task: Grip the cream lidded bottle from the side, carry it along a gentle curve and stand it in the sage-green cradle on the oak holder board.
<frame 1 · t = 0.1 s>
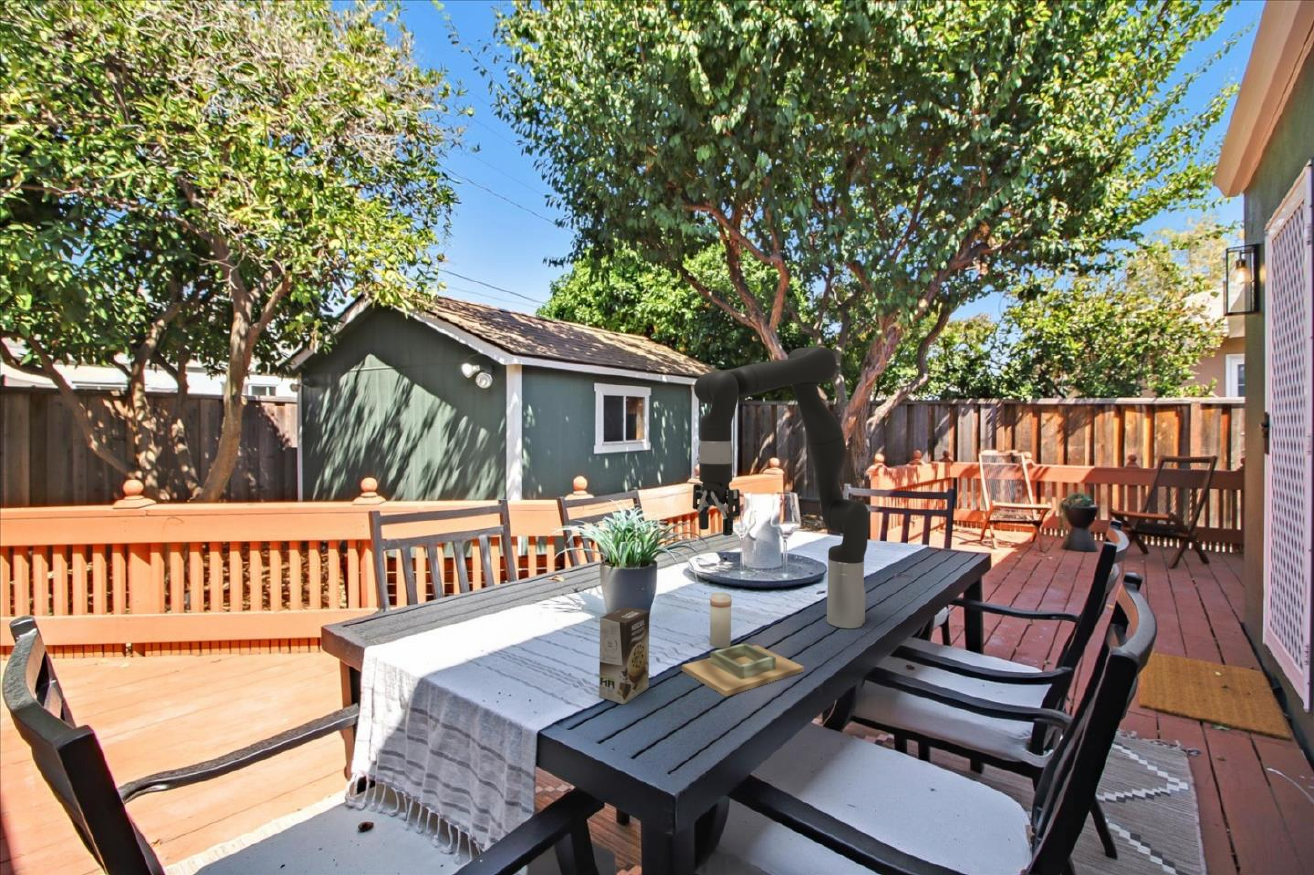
hand: (715, 532, 145), 29 cm above the table, tool pointing down, fingers open, 8 cm apart
coffee box: (624, 693, 128), on the table
end holder: (742, 671, 139), on the table
cream lidded bottle: (720, 644, 155), on the table
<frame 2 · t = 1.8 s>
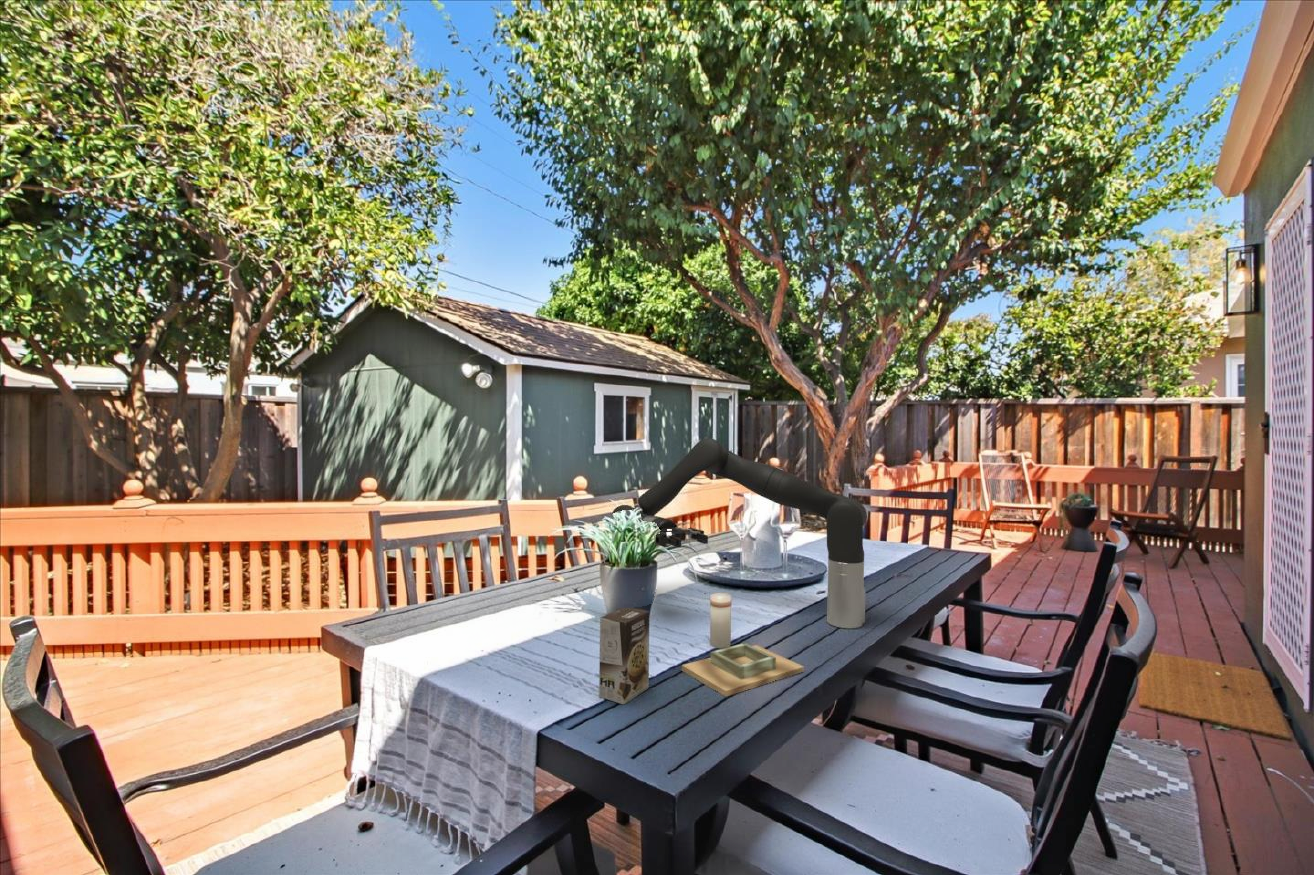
hand: (693, 541, 163), 23 cm above the table, tool horizontal, fingers open, 8 cm apart
nothing on the table moved.
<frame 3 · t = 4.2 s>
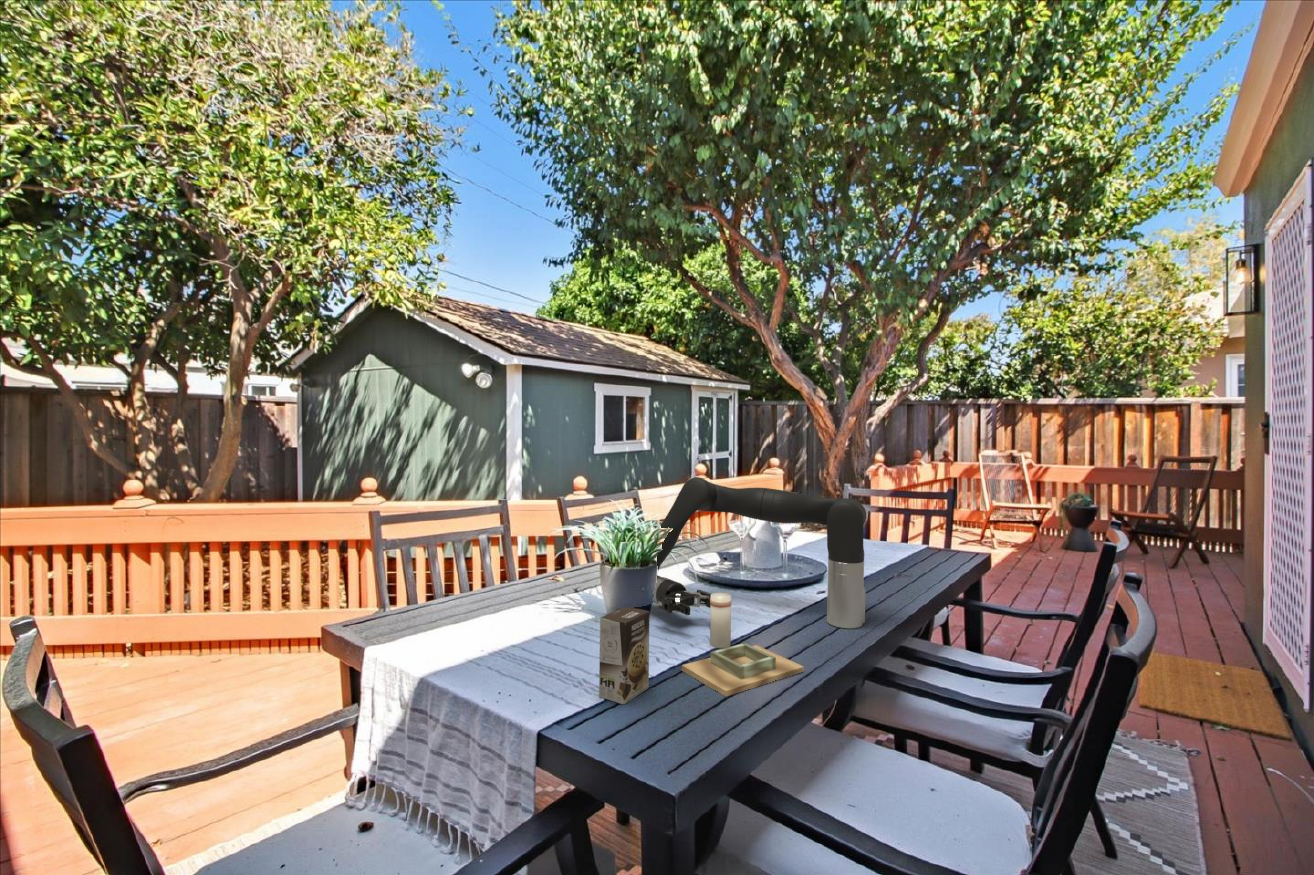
hand: (702, 608, 161), 7 cm above the table, tool horizontal, fingers open, 8 cm apart
nothing on the table moved.
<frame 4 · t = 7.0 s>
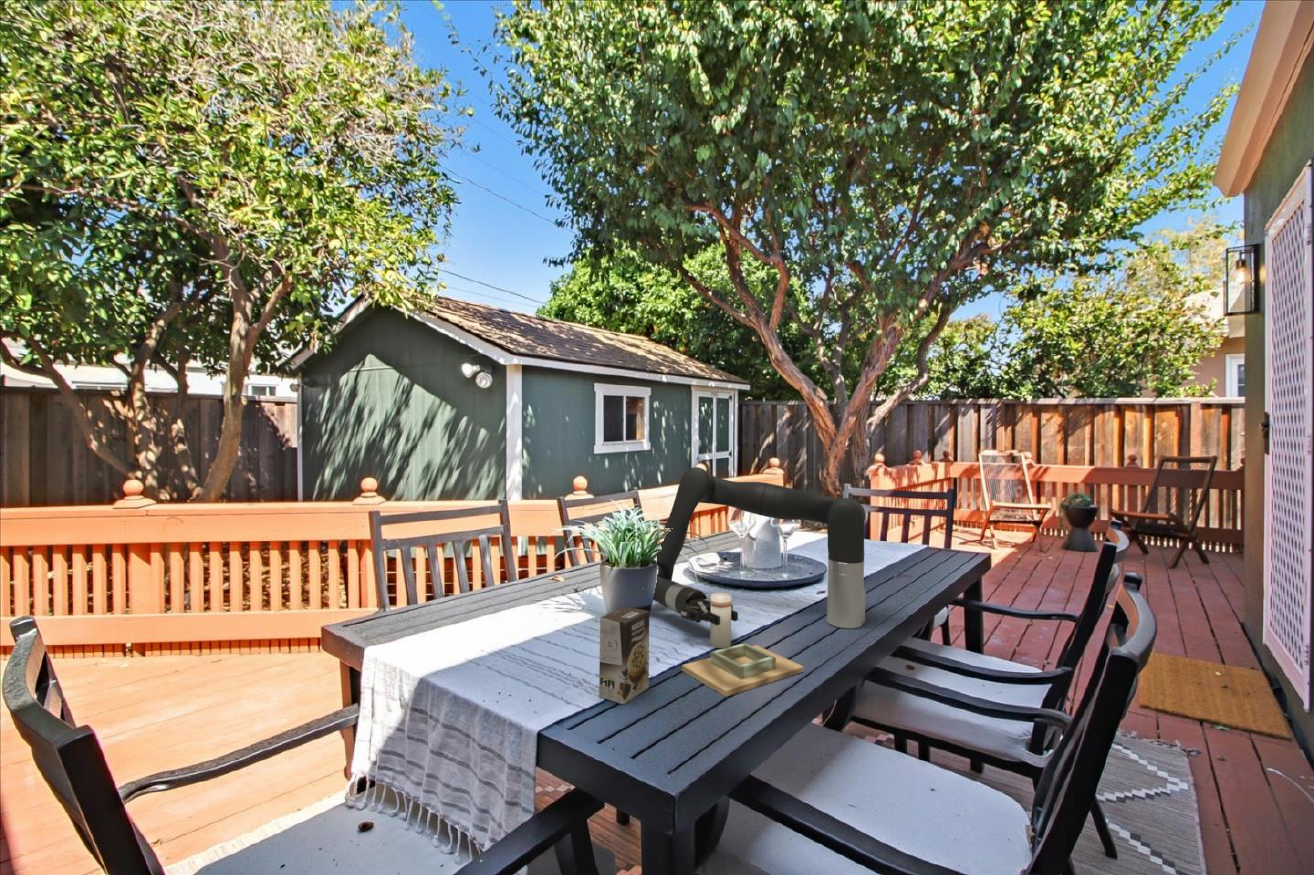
hand: (727, 618, 153), 7 cm above the table, tool horizontal, fingers closed on cream lidded bottle, 5 cm apart
cream lidded bottle: (720, 644, 155), on the table, touching gripper
everything else where it was.
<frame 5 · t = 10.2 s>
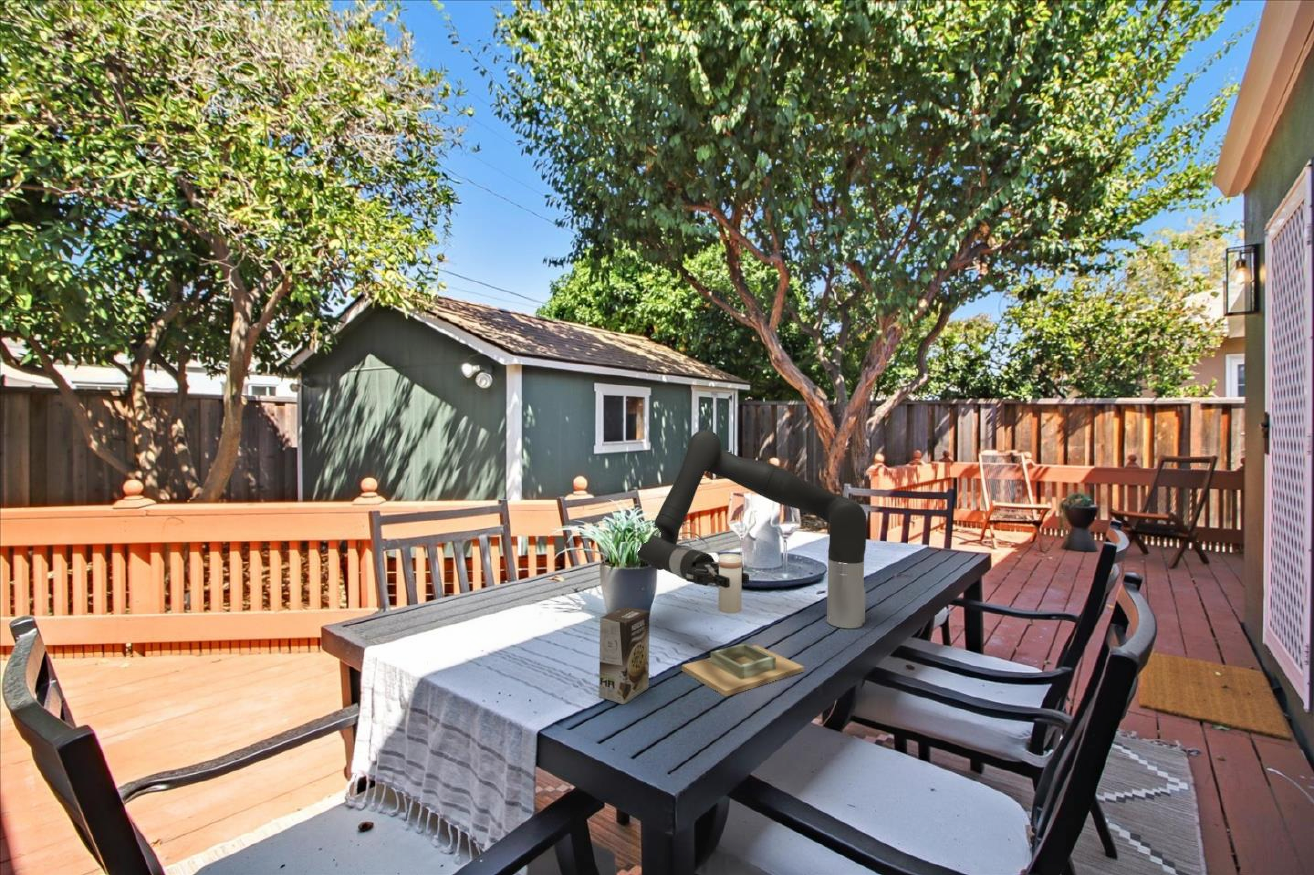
hand: (738, 581, 139), 20 cm above the table, tool horizontal, fingers closed on cream lidded bottle, 5 cm apart
cream lidded bottle: (729, 609, 141), point 13 cm above the table, touching gripper
everything else where it was.
when the fingers open (10 cm above the table, at t = 13.9 s): cream lidded bottle drops 1 cm, resting on end holder.
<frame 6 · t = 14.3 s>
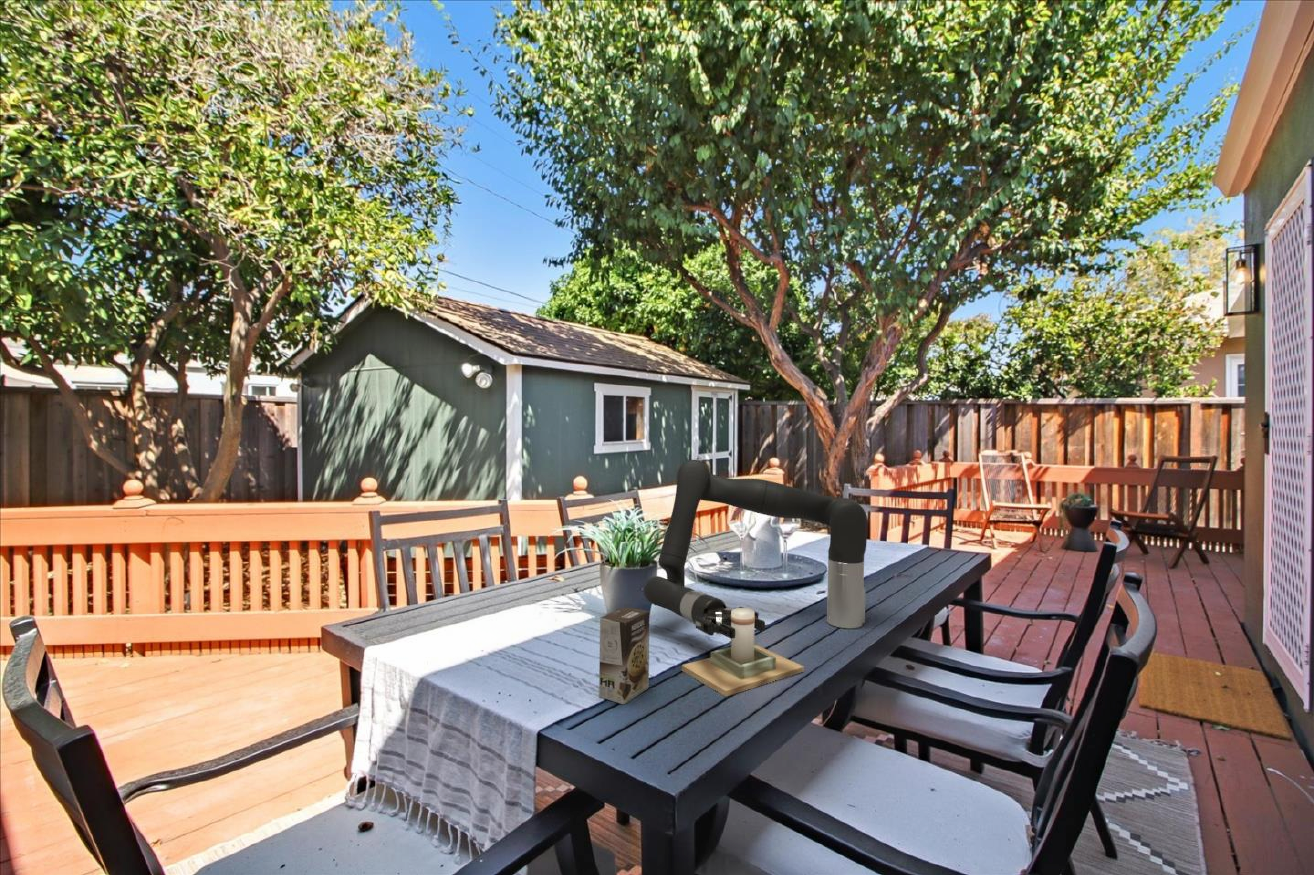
hand: (749, 630, 137), 10 cm above the table, tool horizontal, fingers open, 8 cm apart
cream lidded bottle: (742, 665, 139), point 1 cm above the table, touching end holder
everything else where it was.
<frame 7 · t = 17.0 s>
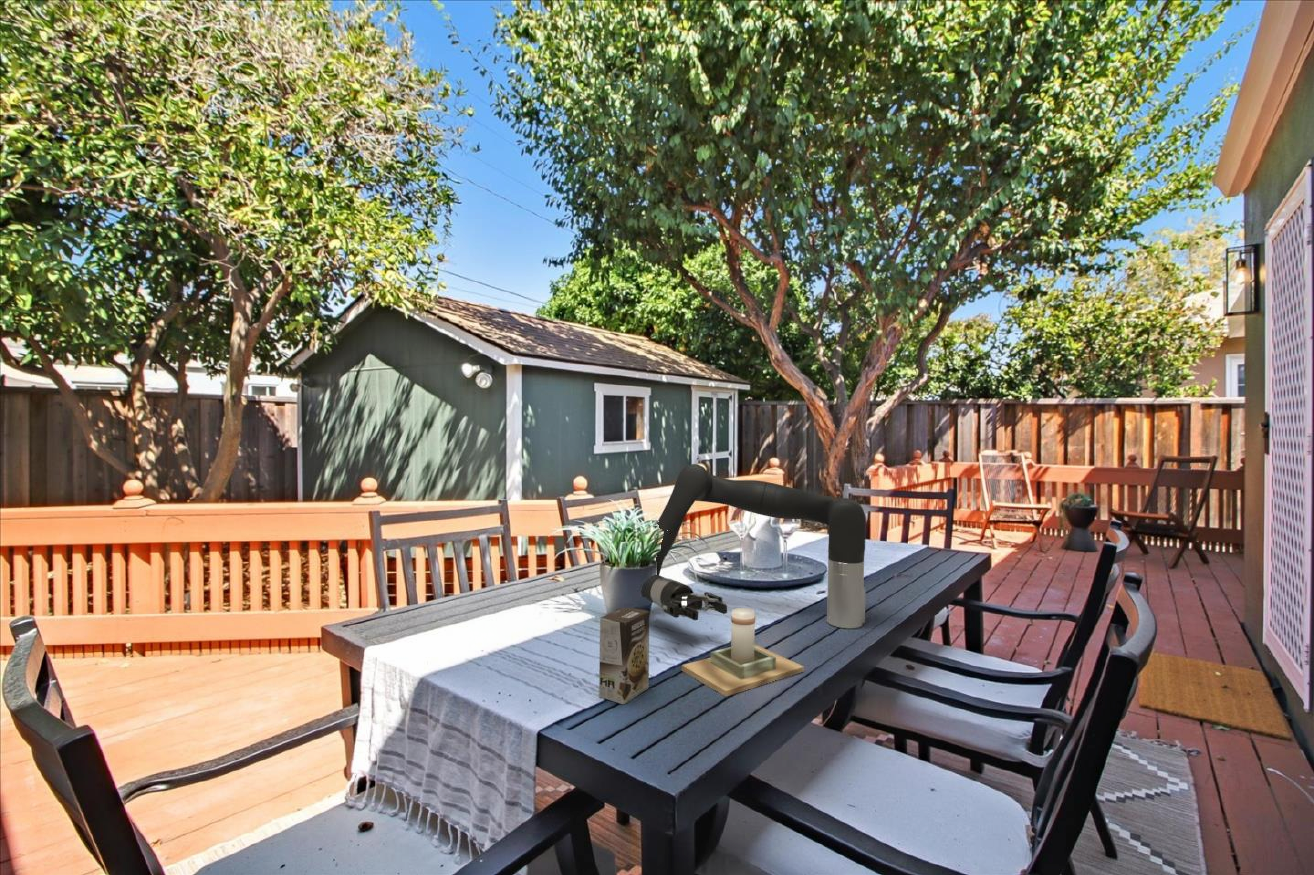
hand: (711, 612, 148), 10 cm above the table, tool horizontal, fingers open, 8 cm apart
nothing on the table moved.
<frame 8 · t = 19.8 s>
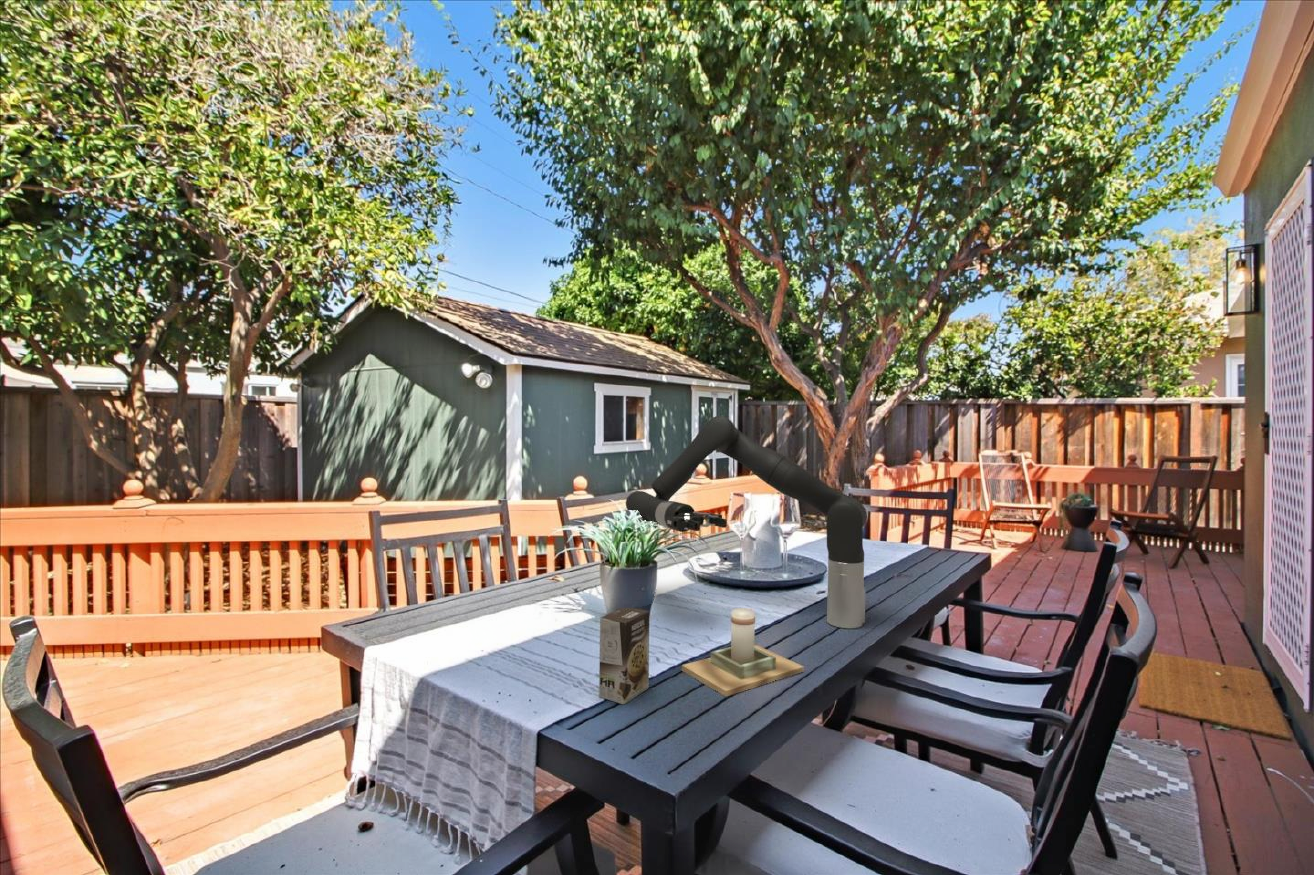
hand: (712, 525, 160), 28 cm above the table, tool horizontal, fingers open, 8 cm apart
nothing on the table moved.
at the end: cream lidded bottle 0.1 cm off-centre on the end holder, point 1.2 cm above the end holder's base; cream lidded bottle tilted 0°; the gripper is holding nothing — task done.
